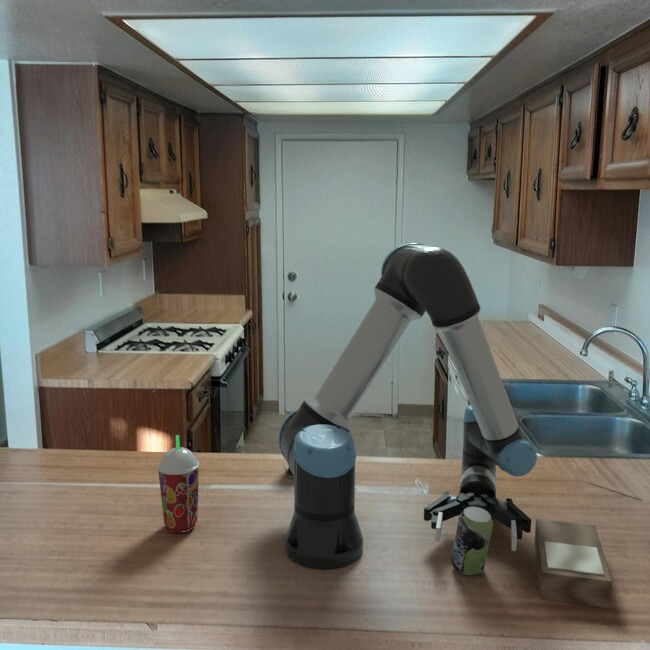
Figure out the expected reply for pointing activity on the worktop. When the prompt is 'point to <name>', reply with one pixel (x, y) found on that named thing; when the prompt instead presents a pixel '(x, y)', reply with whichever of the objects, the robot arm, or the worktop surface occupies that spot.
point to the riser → (571, 564)
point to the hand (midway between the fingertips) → (475, 539)
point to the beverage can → (472, 540)
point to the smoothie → (179, 488)
